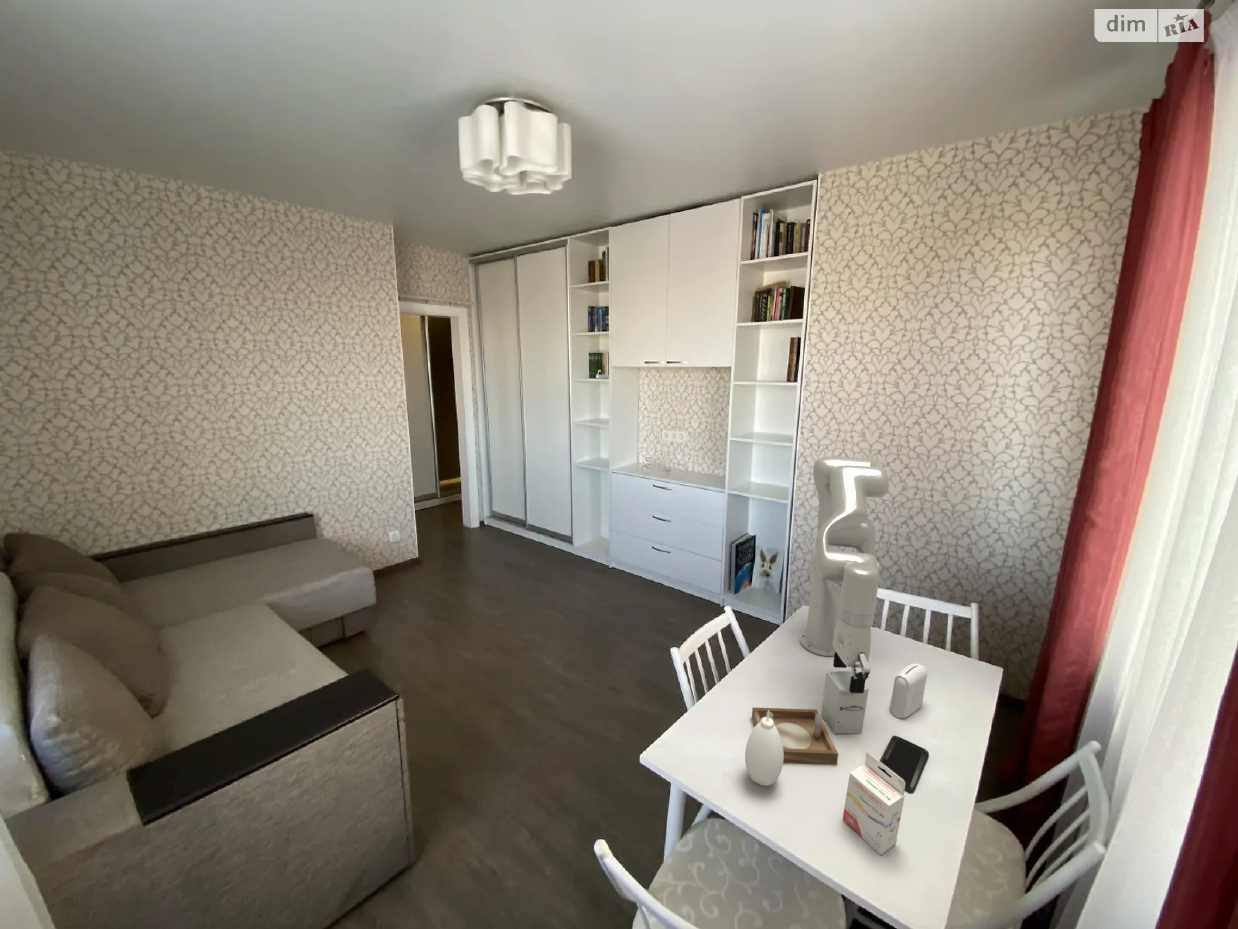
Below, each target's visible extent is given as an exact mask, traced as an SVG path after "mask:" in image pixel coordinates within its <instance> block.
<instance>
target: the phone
mask: <svg viewBox="0 0 1238 929" xmlns="http://www.w3.org/2000/svg"><path fill="white" fill-rule="evenodd" d="M929 755H930V753H929V751H928V750H927V749H926V748H924V747H921V746H919V745H917V744H916V743H913V742H911V741H909V740H907V739H905V738H903V737H901V736H898V735H892V736H891V738H890V740H889V742H888V744H887V746H886V747H885V749H884V752H883V753H882V755H881V757H880V759H879V761H880V762H881V763H883V764H884V765H885V766H886V767H888V768H889V769H890V770H892V771H893V772H894V773H895V774H897V775H898V776H899V777H900V778H902V779H903V780H904V781H905V790H904V792H906V793H908V794H914V793H915V791H916V788H917V786H918V783H919V781H920V779H921V776H922V774H923V770H925V766H926V763H928V762H927V761H928V758H929ZM878 768H879V769H880V770H881V771H882V772H884V773H885V774H886V775H887V776H889V777H890V778H892V777H891V775H889V774H888V773H887V772H886V770H885V769H882V768H881V767H879V766H878Z"/></svg>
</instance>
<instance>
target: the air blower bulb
mask: <svg viewBox="0 0 1238 929" xmlns="http://www.w3.org/2000/svg"><path fill="white" fill-rule="evenodd" d="M745 746H746V747H745V752H744V762H745V768H746V770H747V773H748V775H749V777H750V778H751V779H752V780H753V782H755V783H756V784H758V785H761V786H763V787H764V786H770V785H771V786H772V785H773V784H774V783H775V782H776V781H777V780H778V778H779V777H780V775H781V773H782V769H783V766H784V763H783V759H784V752H783V745H782V740H781V737H780V734H779V732H778V730H777V728H776V726H775V725H774V721H773V720H772V719H771V718H769V710H768V712H767V717H763V718H762V719H761V721H760V722H759V723H758V724H757V725H756V726H755V727H753V729H752V731H751V732H750V733H749V736H748V739H747V742H746V745H745Z"/></svg>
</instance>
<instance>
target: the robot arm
mask: <svg viewBox="0 0 1238 929" xmlns="http://www.w3.org/2000/svg"><path fill="white" fill-rule="evenodd" d="M812 470H813V471H812V472H813V473H812V475H813V482H814V486H815V489H816V492H817V495H818V496H817V497H818V513H817V514H818V515H817V535H816V539H815V552H814V553H812V555H811V557H810V577H811V578H810V580H811V581H810V593H809V603H808V604H809V605H808V612H807V621H806V630H805V631H804V632H803V633H801V635H800V637H799V642H800V644H801V646H802V647H803V648H804V649H806V650H807V651H809V652H811V653H813V654H816V655H819V656H825V657H833V664H832V666H833V667H834V668H835V669H836V668H839V669H840V668H841V669H843V668H844V669H847V668H851V671H852V674H853V676H851V680H850V687H849V691H850V693H864V688H865V686H866V680H867V679H868V678H869V675H870V673H871V668H870V665H869V661H870V657H871V656H870V655H871V643H872V641H871V640H872V636H871V635H872V633H871V632H872V629H871V628H872V627H873V625H874V618H875V611H876V604H877V598H878V597H877V596H878V590H879V583H880V582H879V581H880V563H879V561H878V560H877V558H876V556H875V554H876V552H875V551H876V528H875V525H874V523H873V522H872V520H871V519H869V518H868V509H867V498H875V499H876V498H883V497H885V496H886V495H887V493H888V490H889V488H890V487H889V486H890V484H889V483H890V482H889V476H888V473H887V471H886V470H885V468H884V467H883V466H882V464H880V463H879V462H878V461H876V460H875V459H872V458H859V457H855V458H854V457H847V456H846V457H843V456H823V457H820V458H818V459H816V460H815V461H814V464H813V468H812ZM829 546H830V547H831V546H832V547H839V548H840V547H841V548H851V549H856V550H855V551H856V552H855V551H848V550H840V549H839V550H838V549H829ZM838 584H841V588H840V586H838ZM857 663H859V664H857ZM857 668H858V669H859V668H860V671H858V672H857Z"/></svg>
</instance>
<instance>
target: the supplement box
mask: <svg viewBox="0 0 1238 929" xmlns="http://www.w3.org/2000/svg"><path fill="white" fill-rule="evenodd" d="M851 676H853V674H852V670H848V671H843V670H842V671H840V670H838V671H826V672H825V681H824V687H823V688H824V689H823V696H822V702H821V710H820V711H821V712H820V714H821V715H822V716H823V719H824V721H825V722H826V725H827V726H828V728H829V729H830V731H831V733H832V734H833V735H835V734H836V735H837V734H862V733H863V728H864V721H865V715H866V708H867V707H866V706H867V702H868V697H869V696H868V695H869V689H868V687H867V685H865V688H864V693H850V691H849V687H850V680H851Z"/></svg>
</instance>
